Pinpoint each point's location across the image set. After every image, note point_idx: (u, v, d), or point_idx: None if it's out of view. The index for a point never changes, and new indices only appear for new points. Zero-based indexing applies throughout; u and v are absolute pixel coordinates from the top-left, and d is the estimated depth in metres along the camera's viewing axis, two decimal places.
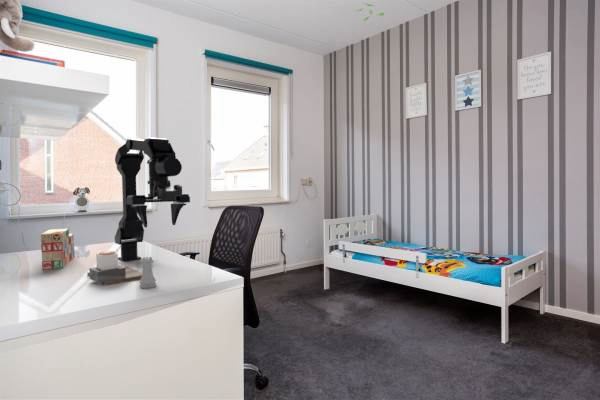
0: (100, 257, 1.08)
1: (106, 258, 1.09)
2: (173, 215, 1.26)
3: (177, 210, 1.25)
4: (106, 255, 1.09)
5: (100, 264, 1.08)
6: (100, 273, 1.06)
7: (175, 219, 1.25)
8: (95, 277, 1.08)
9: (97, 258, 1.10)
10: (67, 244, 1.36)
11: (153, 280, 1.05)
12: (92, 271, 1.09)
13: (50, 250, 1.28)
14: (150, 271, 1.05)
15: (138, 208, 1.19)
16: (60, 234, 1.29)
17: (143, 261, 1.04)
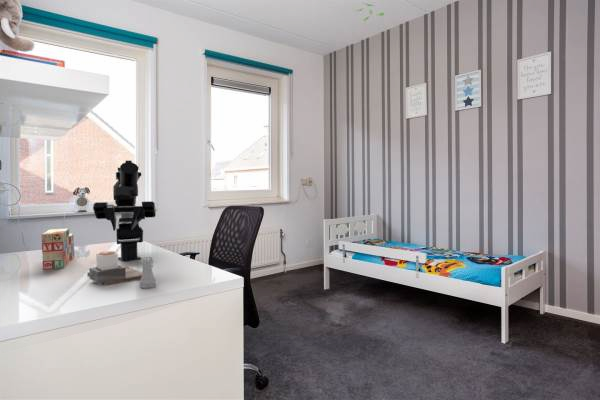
0: (100, 257, 1.08)
1: (106, 258, 1.09)
2: None
3: (134, 215, 1.27)
4: (106, 255, 1.09)
5: (100, 264, 1.08)
6: (100, 273, 1.06)
7: (132, 223, 1.25)
8: (95, 277, 1.08)
9: (97, 258, 1.10)
10: (67, 244, 1.37)
11: (153, 280, 1.05)
12: (92, 271, 1.09)
13: (51, 249, 1.28)
14: (150, 271, 1.05)
15: None
16: (61, 234, 1.29)
17: (143, 261, 1.04)
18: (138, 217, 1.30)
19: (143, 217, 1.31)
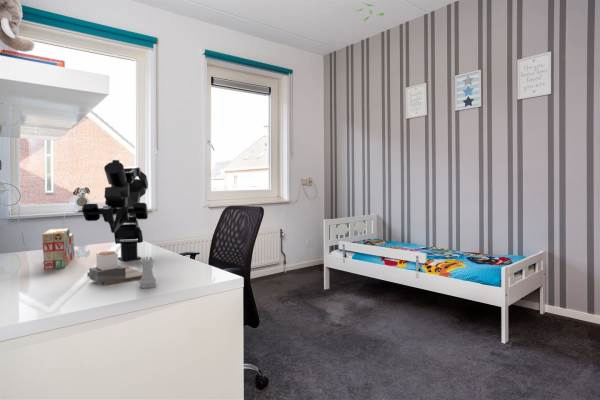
0: (100, 257, 1.08)
1: (106, 258, 1.09)
2: None
3: (117, 217, 1.21)
4: (106, 255, 1.09)
5: (100, 264, 1.08)
6: (100, 273, 1.06)
7: (114, 225, 1.19)
8: (95, 277, 1.08)
9: (97, 258, 1.10)
10: (68, 244, 1.37)
11: (153, 280, 1.05)
12: (92, 271, 1.09)
13: (52, 249, 1.28)
14: (150, 271, 1.05)
15: None
16: (62, 234, 1.29)
17: (143, 261, 1.04)
18: (121, 219, 1.24)
19: (127, 219, 1.25)
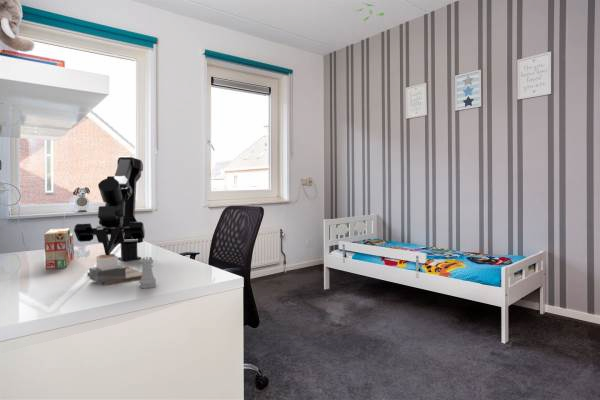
0: (100, 260, 1.09)
1: (106, 261, 1.09)
2: None
3: (111, 238, 1.13)
4: (106, 258, 1.09)
5: (100, 267, 1.09)
6: (100, 273, 1.06)
7: (108, 247, 1.12)
8: (95, 277, 1.08)
9: (97, 261, 1.10)
10: (69, 244, 1.37)
11: (153, 280, 1.05)
12: (92, 271, 1.09)
13: (53, 249, 1.29)
14: (150, 271, 1.05)
15: None
16: (63, 234, 1.30)
17: (143, 261, 1.04)
18: (116, 240, 1.16)
19: (122, 240, 1.17)
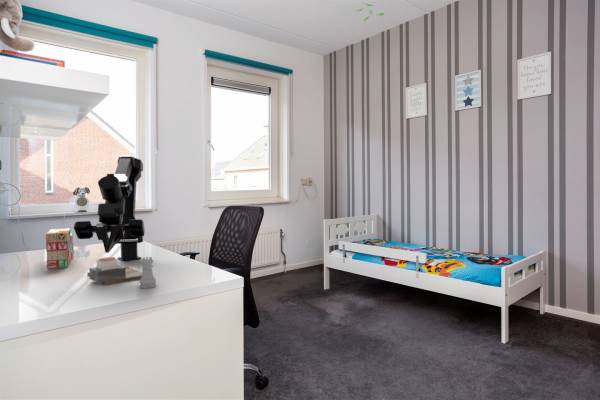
0: (100, 263, 1.09)
1: (106, 264, 1.09)
2: None
3: (111, 235, 1.13)
4: (106, 261, 1.09)
5: (101, 270, 1.09)
6: (100, 273, 1.06)
7: (108, 244, 1.12)
8: (95, 277, 1.08)
9: (97, 264, 1.10)
10: None
11: (153, 280, 1.05)
12: (92, 271, 1.09)
13: (55, 249, 1.29)
14: (150, 271, 1.05)
15: None
16: (65, 233, 1.30)
17: (143, 261, 1.04)
18: (116, 237, 1.16)
19: (122, 237, 1.17)
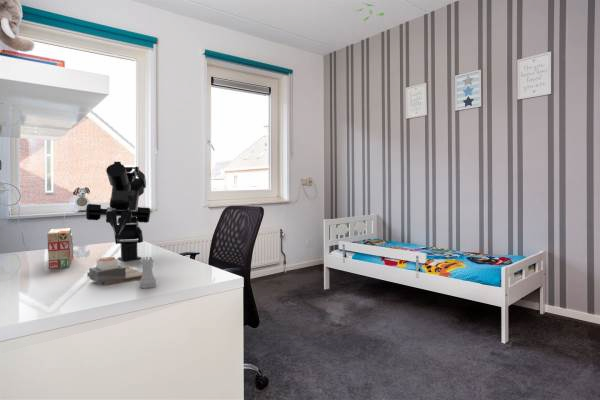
0: (100, 263, 1.09)
1: (106, 264, 1.09)
2: None
3: (121, 220, 1.23)
4: (106, 261, 1.09)
5: (101, 270, 1.09)
6: (100, 273, 1.06)
7: (119, 228, 1.21)
8: (95, 277, 1.08)
9: (97, 264, 1.10)
10: None
11: (153, 280, 1.05)
12: (92, 271, 1.09)
13: (56, 249, 1.29)
14: (150, 271, 1.05)
15: (112, 221, 1.24)
16: (66, 233, 1.31)
17: (143, 261, 1.04)
18: (124, 222, 1.25)
19: (129, 222, 1.27)
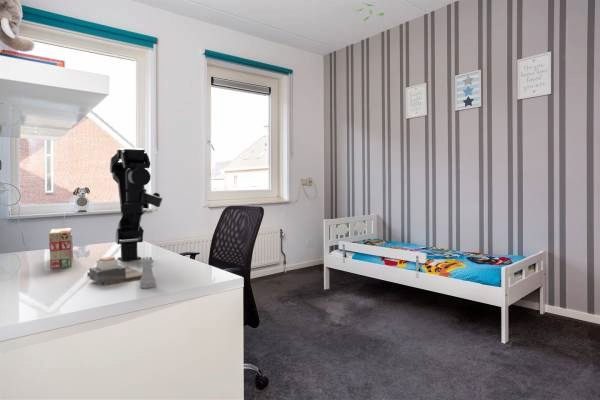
0: (100, 263, 1.09)
1: (106, 264, 1.09)
2: None
3: None
4: (106, 261, 1.09)
5: (101, 270, 1.09)
6: (100, 273, 1.06)
7: (139, 225, 1.31)
8: (95, 277, 1.08)
9: (97, 264, 1.10)
10: None
11: (153, 280, 1.05)
12: (92, 271, 1.09)
13: (58, 248, 1.30)
14: (150, 271, 1.05)
15: (131, 214, 1.28)
16: (68, 233, 1.31)
17: (143, 261, 1.04)
18: None
19: None
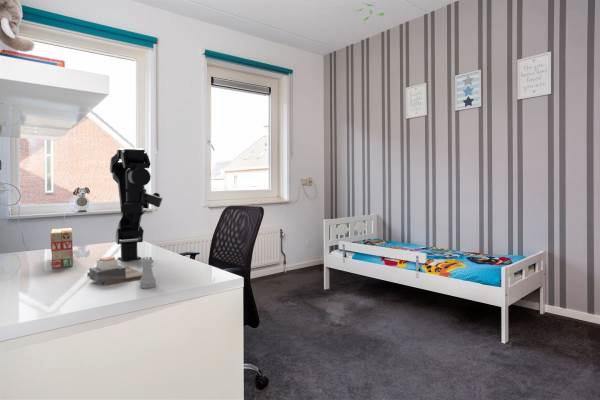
0: (100, 263, 1.09)
1: (106, 264, 1.09)
2: None
3: None
4: (106, 261, 1.09)
5: (101, 270, 1.09)
6: (100, 273, 1.06)
7: (139, 226, 1.31)
8: (95, 277, 1.08)
9: (97, 264, 1.10)
10: None
11: (153, 280, 1.05)
12: (92, 271, 1.09)
13: (60, 248, 1.30)
14: (150, 271, 1.05)
15: (131, 214, 1.28)
16: (69, 233, 1.31)
17: (143, 261, 1.04)
18: None
19: None
